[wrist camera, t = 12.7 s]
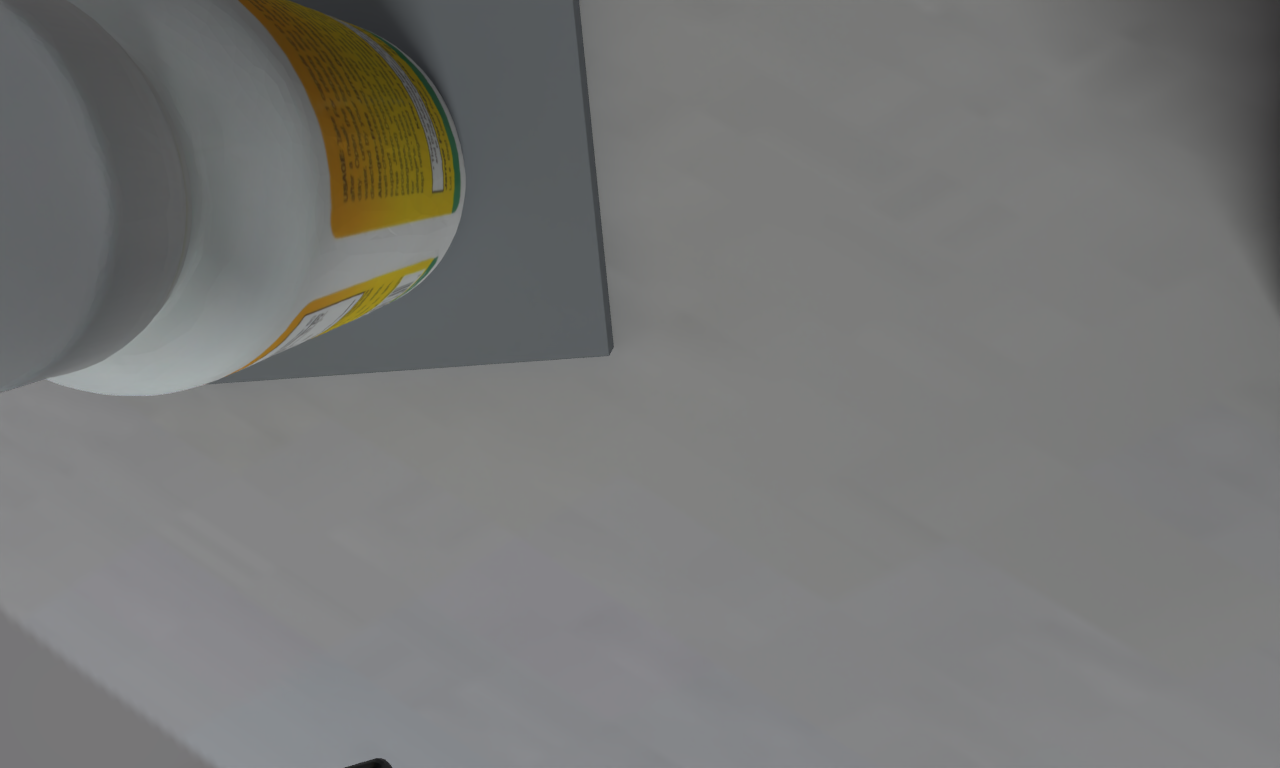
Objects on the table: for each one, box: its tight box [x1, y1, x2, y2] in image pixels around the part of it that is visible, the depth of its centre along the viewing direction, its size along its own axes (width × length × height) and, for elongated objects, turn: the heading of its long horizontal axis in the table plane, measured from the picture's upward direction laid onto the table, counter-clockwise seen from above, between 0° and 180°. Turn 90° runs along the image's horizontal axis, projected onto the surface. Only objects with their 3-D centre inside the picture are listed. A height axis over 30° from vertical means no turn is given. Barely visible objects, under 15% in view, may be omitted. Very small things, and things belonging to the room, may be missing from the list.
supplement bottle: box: [0, 0, 466, 396], centre depth 13 cm, size 5×5×10 cm
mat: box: [207, 0, 614, 384], centre depth 18 cm, size 10×8×1 cm
